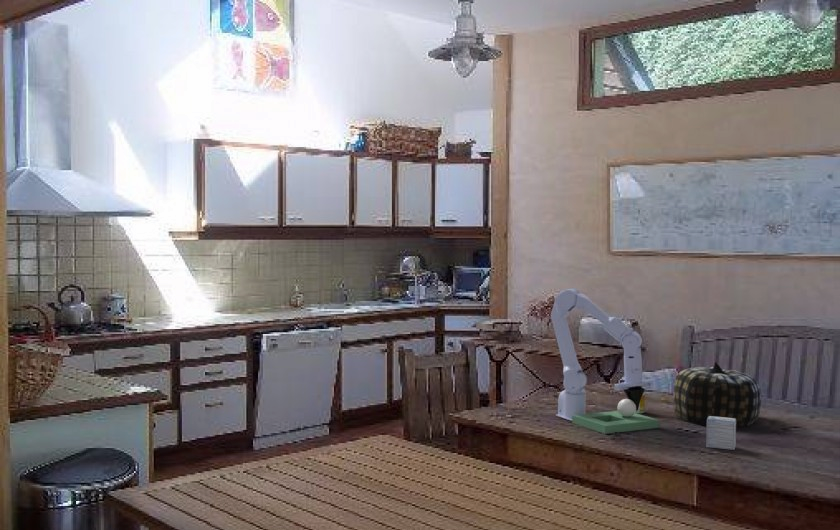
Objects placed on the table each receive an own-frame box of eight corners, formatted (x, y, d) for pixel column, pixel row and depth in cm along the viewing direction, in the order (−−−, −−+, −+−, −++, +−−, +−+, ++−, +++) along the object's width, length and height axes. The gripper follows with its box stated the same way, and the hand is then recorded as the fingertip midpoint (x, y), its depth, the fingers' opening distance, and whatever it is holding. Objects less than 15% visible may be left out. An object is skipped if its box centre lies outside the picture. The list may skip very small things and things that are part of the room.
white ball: (617, 417, 284) (611, 403, 282) (629, 407, 286) (624, 393, 283) (629, 423, 278) (623, 408, 276) (642, 412, 280) (636, 398, 278)
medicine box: (735, 447, 252) (736, 418, 252) (734, 450, 248) (735, 421, 248) (707, 444, 255) (708, 415, 255) (706, 447, 251) (706, 418, 251)
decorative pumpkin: (779, 421, 288) (780, 363, 288) (725, 432, 272) (727, 370, 271) (705, 406, 313) (707, 352, 312) (652, 415, 296) (654, 358, 296)
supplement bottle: (643, 410, 304) (643, 383, 303) (645, 413, 298) (646, 386, 298) (628, 410, 304) (628, 383, 304) (630, 413, 299) (630, 385, 299)
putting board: (572, 422, 282) (572, 415, 282) (624, 417, 292) (624, 410, 292) (604, 433, 267) (605, 425, 267) (659, 427, 277) (659, 420, 277)
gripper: (623, 372, 275) (625, 414, 275) (658, 367, 281) (660, 408, 281) (609, 370, 281) (611, 411, 281) (643, 365, 287) (645, 405, 288)
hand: (634, 409), depth 282 cm, fingers closed, pressing on white ball
